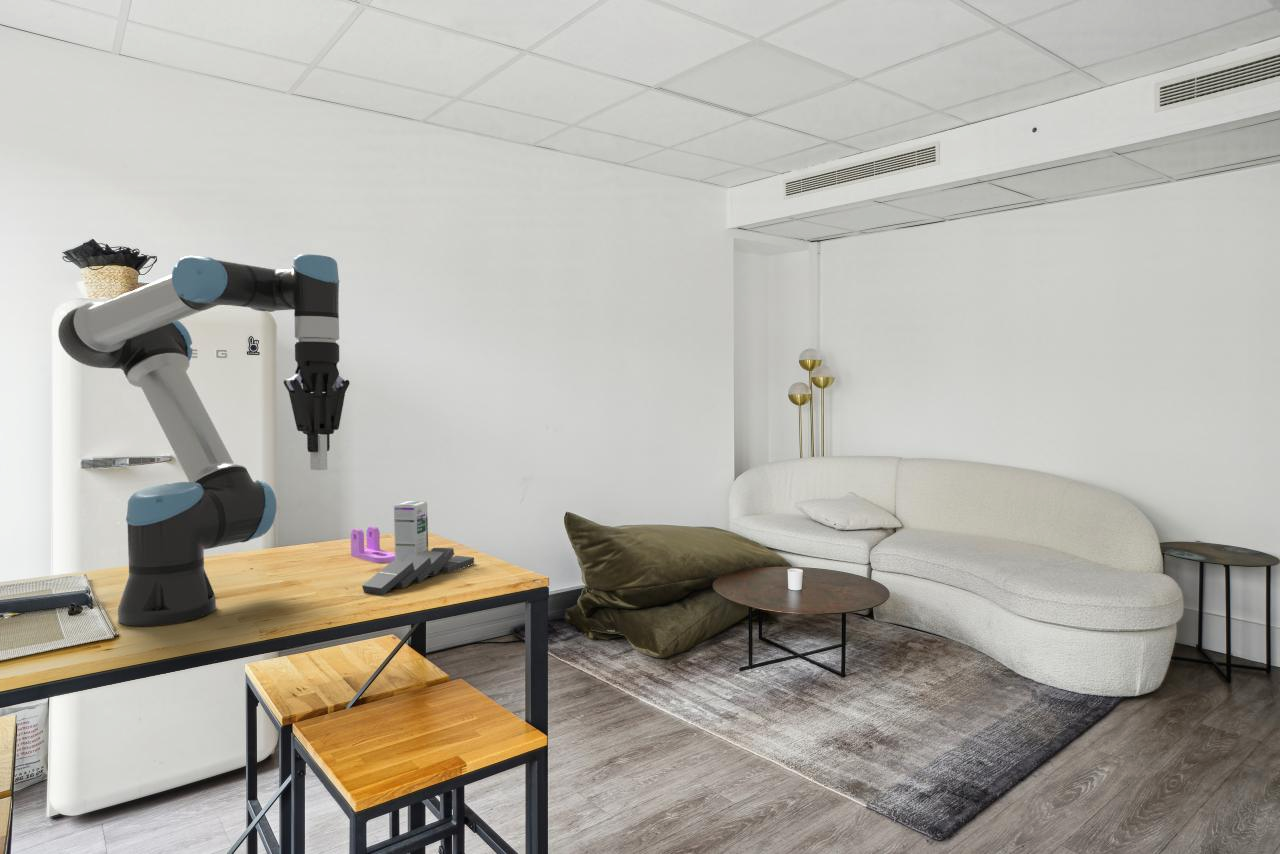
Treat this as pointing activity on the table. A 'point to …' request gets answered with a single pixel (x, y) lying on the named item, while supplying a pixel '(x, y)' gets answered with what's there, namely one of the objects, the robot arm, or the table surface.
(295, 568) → the table surface
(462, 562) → the domino
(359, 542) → the bracket
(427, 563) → the domino
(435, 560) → the domino
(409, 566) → the domino
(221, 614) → the table surface
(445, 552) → the domino
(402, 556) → the syrup box
